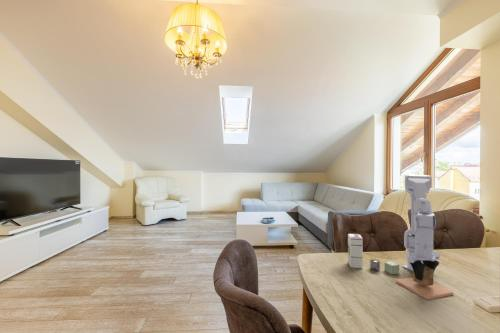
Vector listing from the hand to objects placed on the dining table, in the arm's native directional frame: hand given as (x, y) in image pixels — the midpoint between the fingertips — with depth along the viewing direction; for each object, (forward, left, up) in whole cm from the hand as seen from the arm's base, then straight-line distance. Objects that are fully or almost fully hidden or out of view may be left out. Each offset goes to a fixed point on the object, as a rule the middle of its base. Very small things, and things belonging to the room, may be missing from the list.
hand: (423, 278), depth 93 cm
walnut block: (0, 0, -2) cm, 2 cm away
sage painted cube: (0, -14, -4) cm, 15 cm away
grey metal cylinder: (+6, -18, -4) cm, 20 cm away
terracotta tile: (0, 0, -4) cm, 4 cm away
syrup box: (+12, -24, -4) cm, 27 cm away
